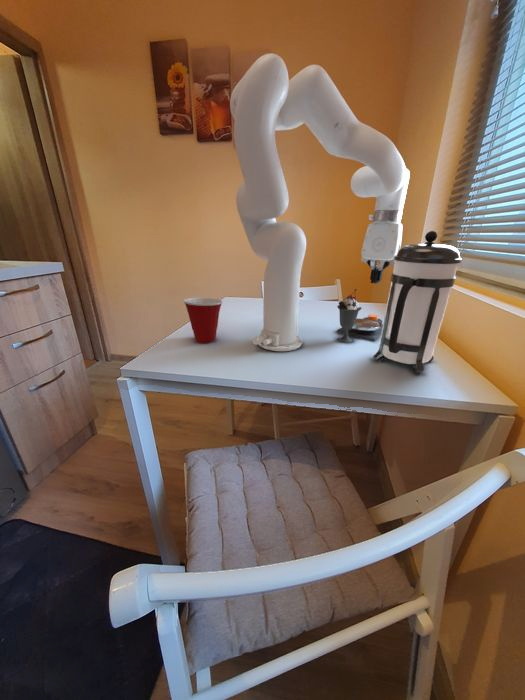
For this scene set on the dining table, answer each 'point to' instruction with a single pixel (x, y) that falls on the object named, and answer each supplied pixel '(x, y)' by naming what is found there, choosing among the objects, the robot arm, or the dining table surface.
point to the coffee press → (417, 301)
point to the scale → (365, 332)
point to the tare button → (373, 317)
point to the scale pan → (366, 325)
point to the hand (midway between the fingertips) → (374, 282)
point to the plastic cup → (203, 317)
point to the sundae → (348, 316)
